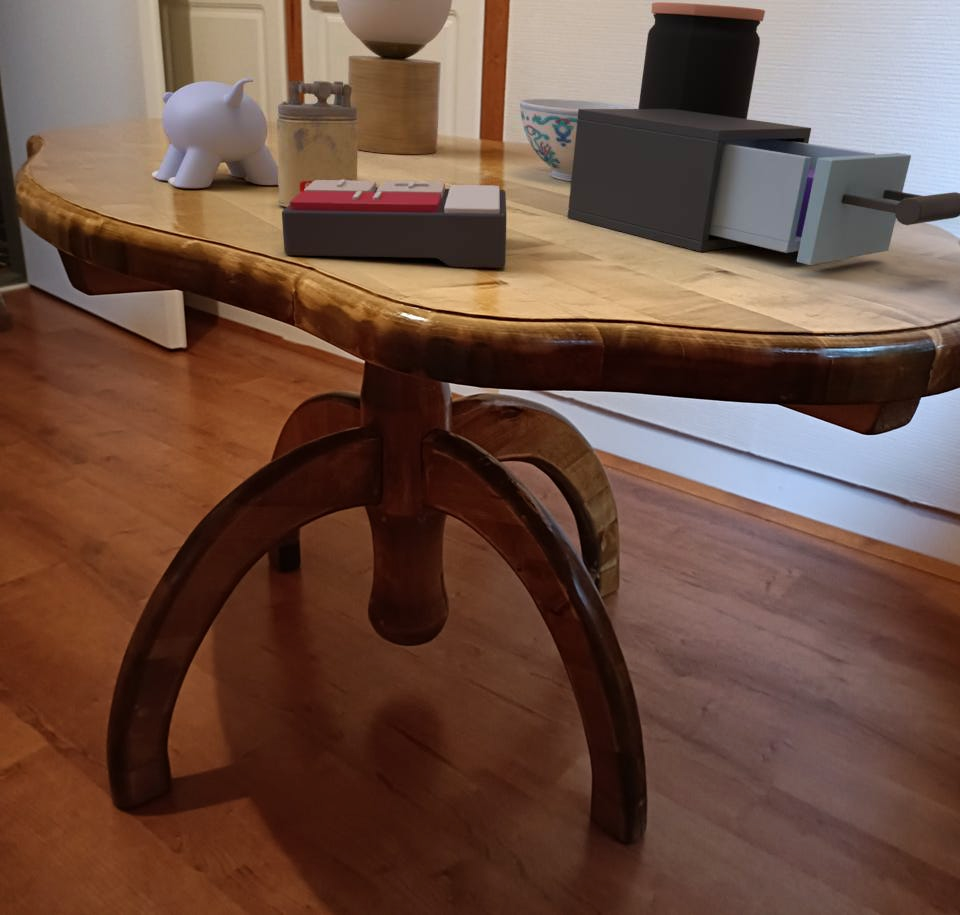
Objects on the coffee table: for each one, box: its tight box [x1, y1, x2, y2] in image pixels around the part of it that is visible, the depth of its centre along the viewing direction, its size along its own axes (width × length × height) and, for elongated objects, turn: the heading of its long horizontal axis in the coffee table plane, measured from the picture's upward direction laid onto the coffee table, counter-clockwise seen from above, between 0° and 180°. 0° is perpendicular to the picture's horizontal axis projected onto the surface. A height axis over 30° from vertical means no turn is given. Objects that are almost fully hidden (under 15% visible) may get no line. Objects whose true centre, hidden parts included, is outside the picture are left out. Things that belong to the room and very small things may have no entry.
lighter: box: [276, 80, 358, 208], centre depth 80 cm, size 7×4×10 cm, turn 125°
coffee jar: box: [638, 1, 766, 119], centre depth 95 cm, size 11×11×18 cm
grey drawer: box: [709, 139, 960, 266], centre depth 73 cm, size 19×11×7 cm, turn 41°
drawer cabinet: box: [567, 109, 812, 253], centre depth 82 cm, size 15×13×9 cm
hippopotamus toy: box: [151, 77, 278, 189], centre depth 89 cm, size 11×15×10 cm
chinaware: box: [519, 98, 639, 182], centre depth 106 cm, size 15×15×8 cm
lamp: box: [336, 0, 453, 155], centre depth 118 cm, size 15×14×25 cm
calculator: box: [281, 180, 507, 269], centre depth 69 cm, size 11×4×15 cm
